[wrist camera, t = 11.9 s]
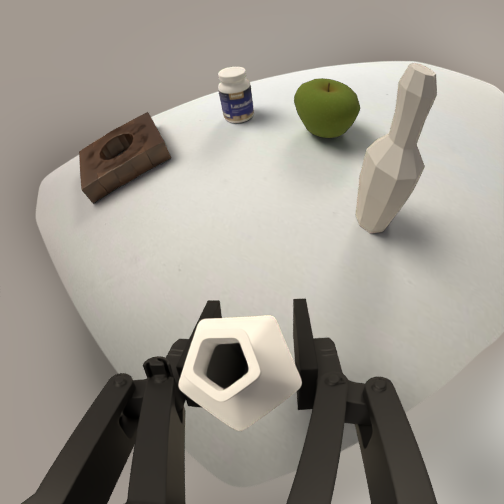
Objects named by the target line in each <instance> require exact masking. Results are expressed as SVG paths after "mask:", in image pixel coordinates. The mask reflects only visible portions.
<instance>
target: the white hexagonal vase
mask: <svg viewBox="0 0 504 504" xmlns="http://www.w3.org/2000/svg"><path fill="white" fill-rule="evenodd" d="M301 385H302V381H301V378H300V375H299V373H298V370H297V368H296V366H295V363H294V361H293V358H292V356H291V354H290V351H289V349H288V346H287V344H286V342H285V339H284V337H283V334H282V332H281V330H280V327H279V325H278V322H277V320H276V319H275V318H274V317H273V316H268V315H266V316H252V317H235V318H213V319H203V320H201V321H200V322H199V323H198V325H197V328H196V331H195V334H194V337H193V340H192V343H191V346H190V349H189V352H188V355H187V358H186V361H185V364H184V367H183V370H182V374H181V377H180V380H179V385H178V386H179V389H180V390H181V391H182V392H183V393H184V394H186V395H187V396H188V397H189V398H191V399H192V400H193V401H195V402H196V403H197V404H199V405H200V406H201V407H203V408H204V409H205V410H207V411H208V412H210V413H211V414H212V415H214V416H215V417H217V418H218V419H219V420H221V421H222V422H224V423H225V424H227V425H228V426H230V427H231V428H233V429H235V430H237V431H242V430H244V429H246V428H248V427H249V426H251V425H252V424H253V423H255V422H256V421H258V420H259V419H261V418H262V417H263V416H265V415H266V414H267V413H269V412H270V411H272V410H273V409H274V408H276V407H277V406H278V405H280V404H281V403H282V402H284V401H285V400H286V399H287V398H289V397H290V396H291V395H292V394H294V393H295V392H296V391H297V390H299V388H300V387H301Z"/></svg>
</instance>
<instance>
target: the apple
mask: <svg viewBox="0 0 504 504" xmlns="http://www.w3.org/2000/svg"><path fill="white" fill-rule="evenodd" d="M294 103H295V106H296V110H297V113H298V115H299V117H300V118H301V120H302V122H303V124H304V125H305V127H306V129H307V130H308V131H309V132H311V133H312V134H313V135H316V136H319V137H324V138H334V137H338V136H340V135H342V134H344V133H345V132H346V131H347V130H348V129H349V128H350V127H351V126H352V124H353V123H354V121H355V120H356V117H357V116H358V113H359V111H360V105H359V101H358V98H357V94H356V93H355V92H354V91H353V90H352V89H351V88H349V87H348V86H347V85H345V84H343V83H341V82H338V81H335V80H331V79H323V78H322V79H314V80H311V81H309V82H306V83H303V84H302V85H301V86H300V87H299V88H298V90H297V92H296V94H295V96H294Z"/></svg>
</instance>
